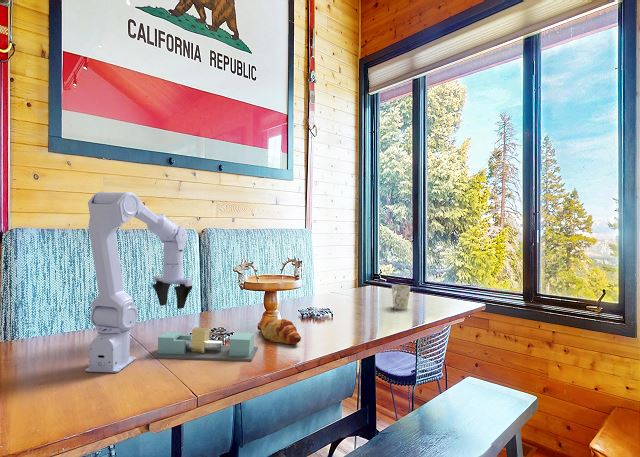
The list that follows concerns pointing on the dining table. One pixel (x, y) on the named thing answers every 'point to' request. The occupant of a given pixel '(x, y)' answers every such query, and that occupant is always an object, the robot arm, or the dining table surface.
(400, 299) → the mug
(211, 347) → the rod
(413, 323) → the dining table surface
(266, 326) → the croissant
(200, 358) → the guide
